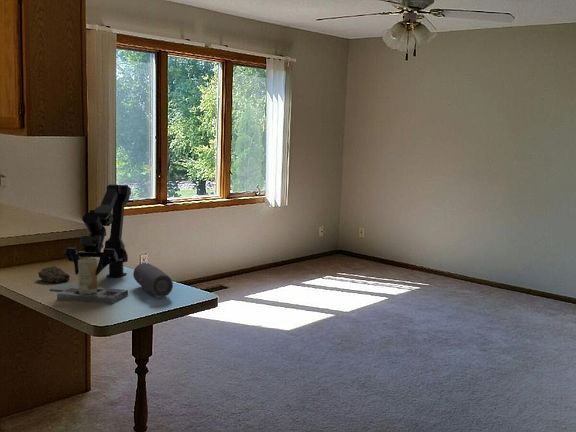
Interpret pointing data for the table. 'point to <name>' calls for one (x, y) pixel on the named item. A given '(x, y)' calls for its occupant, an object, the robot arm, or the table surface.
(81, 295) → the grey black flat block
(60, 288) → the pad
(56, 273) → the concrete sample
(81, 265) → the skincare box
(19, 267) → the table surface
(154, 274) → the bluetooth speaker
